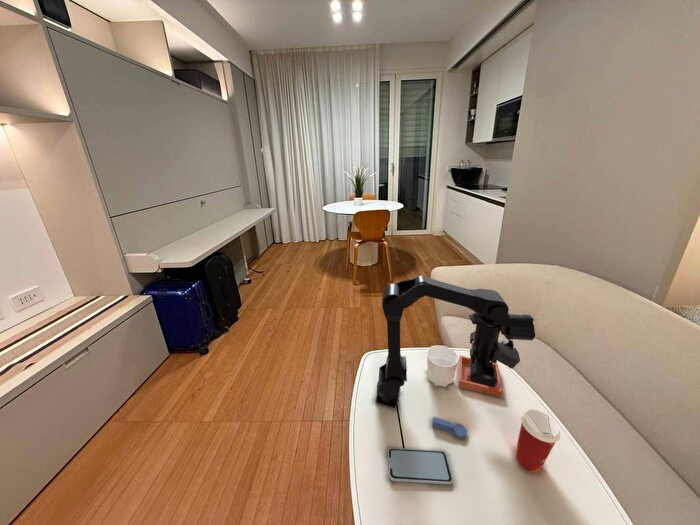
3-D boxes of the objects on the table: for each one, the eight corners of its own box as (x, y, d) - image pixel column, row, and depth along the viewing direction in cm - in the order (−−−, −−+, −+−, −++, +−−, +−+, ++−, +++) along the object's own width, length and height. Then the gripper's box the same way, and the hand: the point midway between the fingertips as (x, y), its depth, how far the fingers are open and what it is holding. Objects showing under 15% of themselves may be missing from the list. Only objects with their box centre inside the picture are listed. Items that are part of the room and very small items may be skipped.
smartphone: (453, 483, 63) (389, 479, 63) (453, 485, 63) (389, 481, 64) (445, 450, 69) (387, 447, 70) (444, 453, 70) (387, 449, 71)
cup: (425, 386, 89) (427, 364, 85) (424, 365, 98) (426, 343, 94) (456, 391, 87) (460, 368, 83) (452, 369, 96) (456, 347, 92)
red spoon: (466, 383, 78) (467, 377, 77) (466, 374, 81) (467, 369, 80) (501, 392, 74) (502, 386, 73) (499, 383, 77) (501, 377, 77)
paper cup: (552, 480, 63) (569, 441, 58) (516, 473, 65) (530, 435, 59) (537, 447, 70) (551, 409, 65) (506, 441, 72) (517, 404, 66)
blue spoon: (431, 430, 75) (432, 424, 75) (433, 418, 78) (433, 413, 78) (466, 441, 72) (467, 435, 71) (466, 429, 75) (467, 423, 74)
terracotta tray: (458, 386, 89) (459, 380, 88) (458, 360, 100) (459, 355, 99) (500, 397, 84) (502, 391, 83) (496, 369, 95) (497, 363, 94)
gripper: (527, 367, 61) (513, 415, 67) (515, 322, 77) (505, 364, 83) (474, 355, 65) (465, 401, 71) (473, 315, 81) (466, 355, 87)
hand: (477, 379), depth 78 cm, fingers closed on red spoon, 1 cm apart
